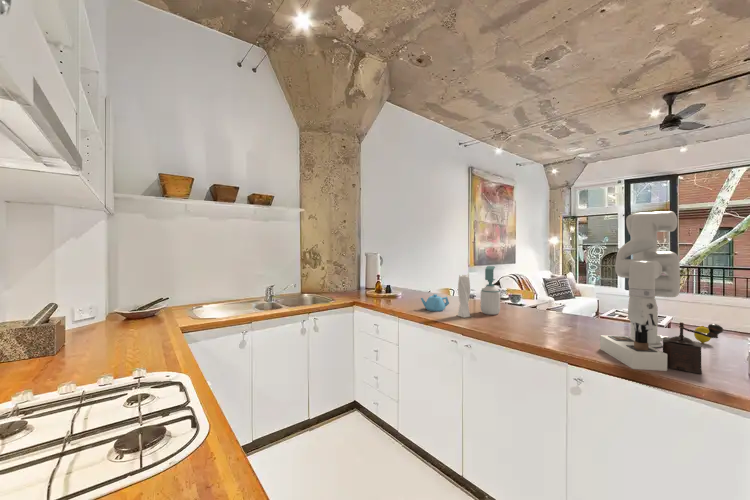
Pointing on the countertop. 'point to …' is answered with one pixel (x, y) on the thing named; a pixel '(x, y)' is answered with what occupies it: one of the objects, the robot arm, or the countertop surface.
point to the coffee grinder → (687, 349)
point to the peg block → (633, 353)
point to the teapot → (435, 303)
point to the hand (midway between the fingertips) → (641, 342)
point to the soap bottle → (490, 294)
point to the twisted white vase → (464, 296)
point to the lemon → (702, 337)
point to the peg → (640, 346)
